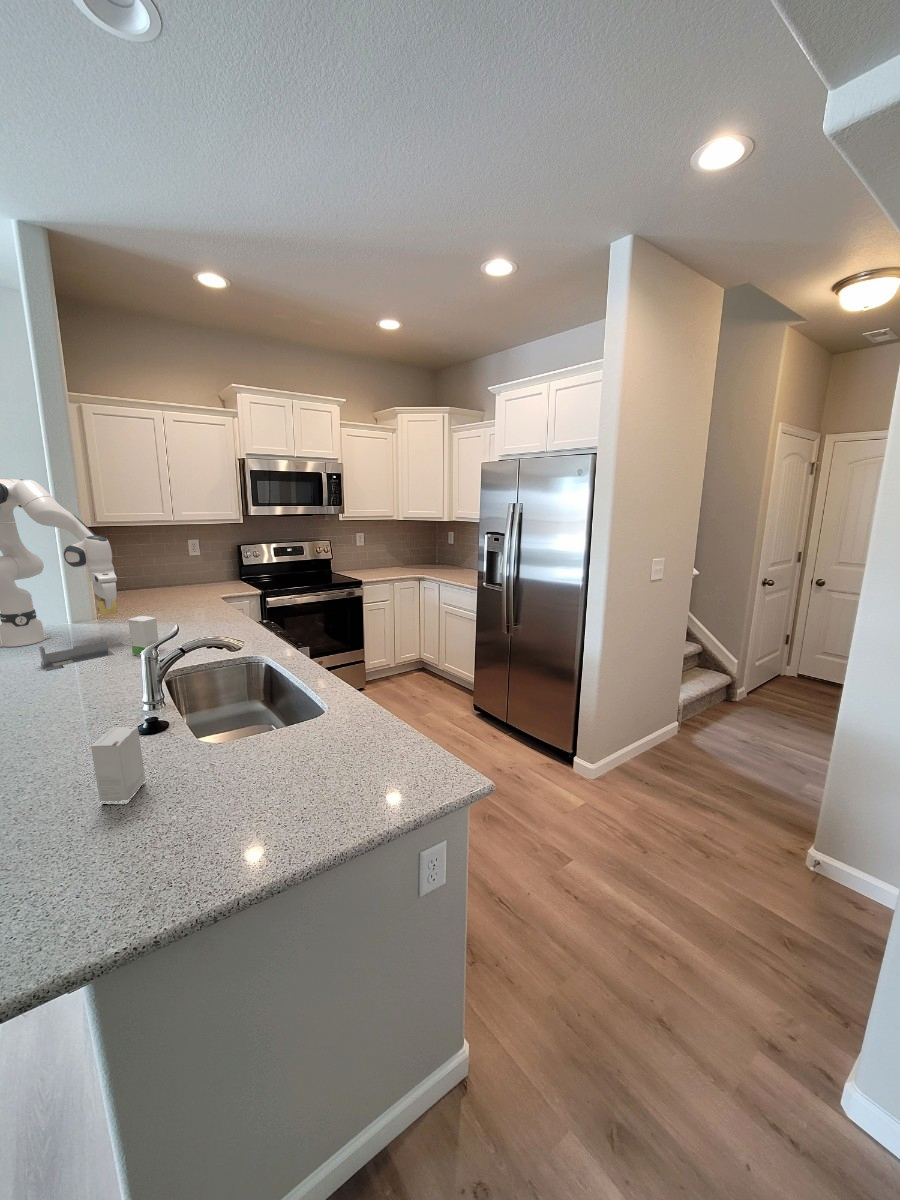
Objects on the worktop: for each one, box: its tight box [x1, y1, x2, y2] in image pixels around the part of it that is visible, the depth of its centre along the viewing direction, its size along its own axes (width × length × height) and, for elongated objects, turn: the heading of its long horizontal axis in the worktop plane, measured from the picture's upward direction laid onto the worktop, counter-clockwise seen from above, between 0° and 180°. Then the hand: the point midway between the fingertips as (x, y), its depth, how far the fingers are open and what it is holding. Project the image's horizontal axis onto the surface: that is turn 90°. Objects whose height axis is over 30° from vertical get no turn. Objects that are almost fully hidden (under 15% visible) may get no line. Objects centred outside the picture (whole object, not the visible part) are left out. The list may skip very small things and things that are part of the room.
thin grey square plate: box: [107, 642, 125, 649], centre depth 211 cm, size 6×7×1 cm
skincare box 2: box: [127, 615, 159, 657], centre depth 201 cm, size 8×7×16 cm
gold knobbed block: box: [95, 598, 118, 617], centre depth 207 cm, size 5×6×7 cm
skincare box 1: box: [90, 726, 146, 803], centre depth 108 cm, size 8×6×15 cm
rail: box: [38, 640, 115, 672], centre depth 194 cm, size 10×22×8 cm, turn 138°
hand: (106, 607), depth 207 cm, fingers closed on gold knobbed block, 5 cm apart
